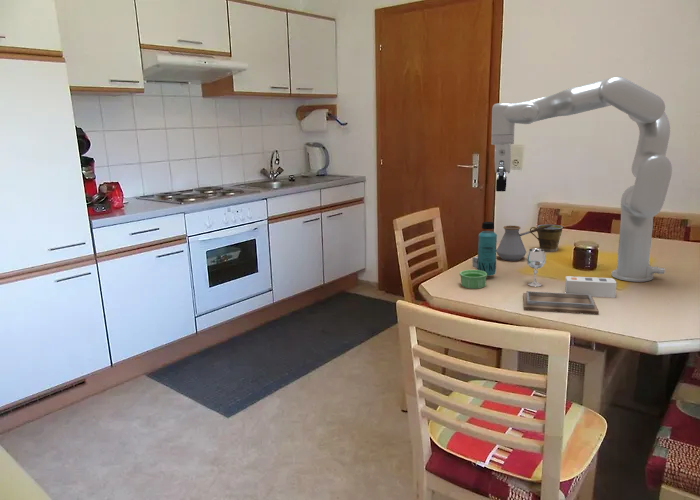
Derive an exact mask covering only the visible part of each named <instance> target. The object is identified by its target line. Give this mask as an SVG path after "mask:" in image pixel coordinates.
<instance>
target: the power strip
mask: <svg viewBox="0 0 700 500" xmlns="http://www.w3.org/2000/svg"><path fill="white" fill-rule="evenodd" d="M564 283H565V284H564V293H565V292H566V293H570V294H590V295H591V296H592V297H594V298H595V297H596V298H609V299H610V298H612V299H615V298H616V295H617V281H616V280H615V278H614V277H613V278H611V277H596V276H592V277H591V276H571V275H569V276H568V275H566V276H565V281H564Z"/></svg>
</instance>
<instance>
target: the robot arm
mask: <svg viewBox="0 0 700 500" xmlns="http://www.w3.org/2000/svg"><path fill="white" fill-rule="evenodd" d="M610 106H612V107H614V108H615V109H617V110H619V111H621V112H622V113H625V114H626V115H628V117H629V119H630V120H632V122H635V123H636V124H637V127H638V130H639V131H638V132H639V134H638V141H637V146H636V149H635V153H634V157H633V161H632V165H631V173H632V175H633V177H635V181H634V184H632V185H630V186H629V187H627V188H626V189H625V190H624V191H623V193H622V196H621V199H620V226H619V227H620V228H619V237H618V250H617V251H618V252H617V259H616V263H617V264H616V268H615V269H613V270H612V271H611V272H610V275H611V276H612V277H613V278H614V279H617V280H621V281H626V282H635V283H639V282H640V283H641V282H643V283H644V282H649V281H651V280H653V278H654V274H660V275H664V274H665V267H659V266H651V265H650V255H651V245H652V235H653V229H654V228H653V226H654V217H655V216H656V215H658V214H659V213H660V212H661V210H662V208H663V207H664V203H665V202H666V201H665V200H666V198H667V194H668V190H669V185H670V182H671V178H672V174H673V173H672V172H673V166H672V162H671V161H670V159H669V158H668V157H667V156H666V154H667V151H668V145H669V141H670V137H671V136H670V135H671V126H670V125H671V123H670V121H669V118H668V115H667V114H666V112H665V110H666V105H665V101H664V99H663V98H662V97H661V96H659V95H658V94H656V93H655V92H652V91H650V90H649V89H647V88H644V87H642V86H641V85H638V84H637V83H635V82H633V81H631V80H629V79H627V78H625V77H623V76H612V77H609V78H606V79H605V78H604V79H602V80H598V81H594V82H590V83H586V84H582V85H578V86H574V87H570V88H568V89H564V90H562V91H559V92H557V93H553V94H550V95H547V96H543V97H540V98H535V99H531V100H525V101H520V102H515V103H514V102H513V103H512V102H499V103H494V104H493V105H492V109H491V142H490V144H491V145H492V146H494V171H495V173H496V180H495V191H496V192H506V191H507V190H506V189H507V178H508V177H507V174H510V173H511V157H512V151H511V150H512V145H514V144H515V124H519V125H520V124H521V125H531V124H532V123H536V122H538V121H539V122H540V121H543V120H547V119H552V118H557V117H565V116H568V117H569V116H574V115H576V114H581V113H585V112H589V111H593V110H598V109H602V108H606V107H610Z"/></svg>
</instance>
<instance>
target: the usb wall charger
mask: <svg viewBox="0 0 700 500" xmlns="http://www.w3.org/2000/svg"><path fill="white" fill-rule="evenodd" d="M477 258H478V257H477V256H474V257H472V260H471V261H472V262H471V263H472V264H471V265H472V268H475V269H476V270H478V268H477V267H478V264H477V260H478V259H477Z"/></svg>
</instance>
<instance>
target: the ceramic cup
mask: <svg viewBox="0 0 700 500" xmlns="http://www.w3.org/2000/svg"><path fill="white" fill-rule="evenodd" d="M545 225H546V226H548V225H552V226H553V227H552V226H551V227H552V229H553V230H552V229H551V227H547V229H546V228H545V229H542V230H540V231H536V232H537V236H536V234H535V233H534V232H532V233H530V234H531V235H532V236H534V237H535V238H536V239H537V241H538V243H539V249H543V250H544V252H547V253H553V252H557V251H558V249H559V243H560V239H561V237H562V234H563V233H562V232H563V228H564V227H563V226H562V225H558V224H551V223H549V224H546V223H545V224H539V225H537V226H536V227H535V226H532V227H530V229H529V231H531V230H534V229H536V228H539V227H544V226H545Z"/></svg>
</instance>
